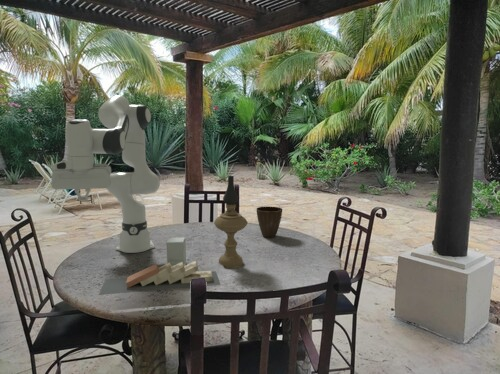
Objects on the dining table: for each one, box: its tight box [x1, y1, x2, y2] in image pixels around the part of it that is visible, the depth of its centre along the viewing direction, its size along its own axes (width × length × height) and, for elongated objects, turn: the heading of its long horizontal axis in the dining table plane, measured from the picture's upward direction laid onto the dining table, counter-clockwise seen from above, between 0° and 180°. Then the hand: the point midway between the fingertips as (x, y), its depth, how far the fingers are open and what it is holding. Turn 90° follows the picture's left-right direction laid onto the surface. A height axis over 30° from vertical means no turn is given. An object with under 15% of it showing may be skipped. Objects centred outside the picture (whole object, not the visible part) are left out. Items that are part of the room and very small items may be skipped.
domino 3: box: [154, 262, 185, 285], centre depth 142 cm, size 6×2×12 cm
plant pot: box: [255, 206, 283, 239], centre depth 209 cm, size 15×15×16 cm
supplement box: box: [165, 237, 187, 266], centre depth 159 cm, size 7×7×13 cm
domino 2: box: [140, 262, 172, 286], centre depth 141 cm, size 6×2×12 cm
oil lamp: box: [213, 175, 248, 269], centre depth 162 cm, size 15×15×40 cm
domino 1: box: [126, 263, 159, 288], centre depth 140 cm, size 6×2×12 cm
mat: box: [98, 270, 221, 295], centre depth 142 cm, size 14×44×1 cm, turn 103°
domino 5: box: [181, 270, 212, 283], centre depth 145 cm, size 6×2×12 cm
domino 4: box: [168, 260, 199, 284], centre depth 143 cm, size 6×2×12 cm
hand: (83, 200), depth 136 cm, fingers closed
